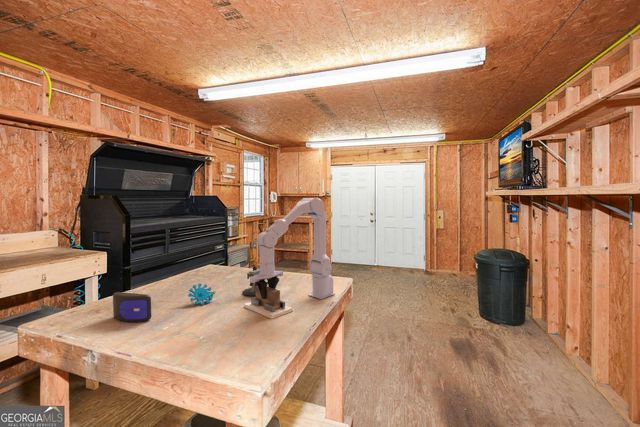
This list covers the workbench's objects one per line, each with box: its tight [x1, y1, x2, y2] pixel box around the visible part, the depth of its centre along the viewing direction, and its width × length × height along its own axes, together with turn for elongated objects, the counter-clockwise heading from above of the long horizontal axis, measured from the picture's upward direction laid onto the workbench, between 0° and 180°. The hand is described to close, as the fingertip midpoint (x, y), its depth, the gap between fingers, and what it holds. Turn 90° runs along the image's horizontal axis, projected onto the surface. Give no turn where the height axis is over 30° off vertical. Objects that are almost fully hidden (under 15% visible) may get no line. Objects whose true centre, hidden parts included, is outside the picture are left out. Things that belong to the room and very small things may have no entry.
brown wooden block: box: [255, 286, 281, 310], centre depth 115 cm, size 4×12×7 cm, turn 47°
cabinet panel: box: [243, 301, 294, 319], centre depth 114 cm, size 10×18×1 cm, turn 47°
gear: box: [187, 282, 217, 306], centre depth 123 cm, size 11×6×10 cm
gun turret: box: [241, 265, 260, 298], centre depth 138 cm, size 13×20×13 cm, turn 154°
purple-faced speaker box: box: [112, 291, 152, 323], centre depth 104 cm, size 16×5×9 cm, turn 75°
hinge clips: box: [250, 297, 286, 312], centre depth 114 cm, size 6×14×2 cm, turn 47°
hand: (267, 297), depth 114 cm, fingers open, 3 cm apart
